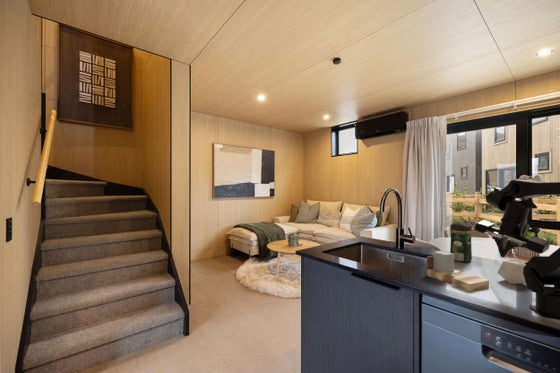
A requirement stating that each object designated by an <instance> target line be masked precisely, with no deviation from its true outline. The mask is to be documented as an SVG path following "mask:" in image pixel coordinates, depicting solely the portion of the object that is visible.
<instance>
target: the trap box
mask: <svg viewBox="0 0 560 373" xmlns="http://www.w3.org/2000/svg"><path fill="white" fill-rule="evenodd" d="M433 256H434V255H431V256H426V276H427V277H431V278H433V279H435V280H438V281H440V282H443V281H444V283H446V282H447V283H446V284H449V285H452V286H455V287H457V288H460V289H462V290H464V291H468V292H472V291H477V290H482V289H486V288H490V279H486V278H484V277H480V276H477V275H473V274H469V275H468V274H465V273H462V272H461V270H458V269H455V268H454V272H448V273H444V272H441V271H438V270H435V269H433Z"/></svg>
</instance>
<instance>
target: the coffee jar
mask: <svg viewBox="0 0 560 373" xmlns="http://www.w3.org/2000/svg"><path fill="white" fill-rule="evenodd" d="M449 229H450V230H449V231H450V246H449V247H450V250H449V251H450V252H449V253H453V254H454V262H458V263H460V262H461V263H468V262H471V261H472V259H473V256H472V255H473V251H472V233H473V229H472V225H471V224H470V223H469V222H464V221H463V222H462V221H460V222H455V223H451V224H450V228H449Z"/></svg>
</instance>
